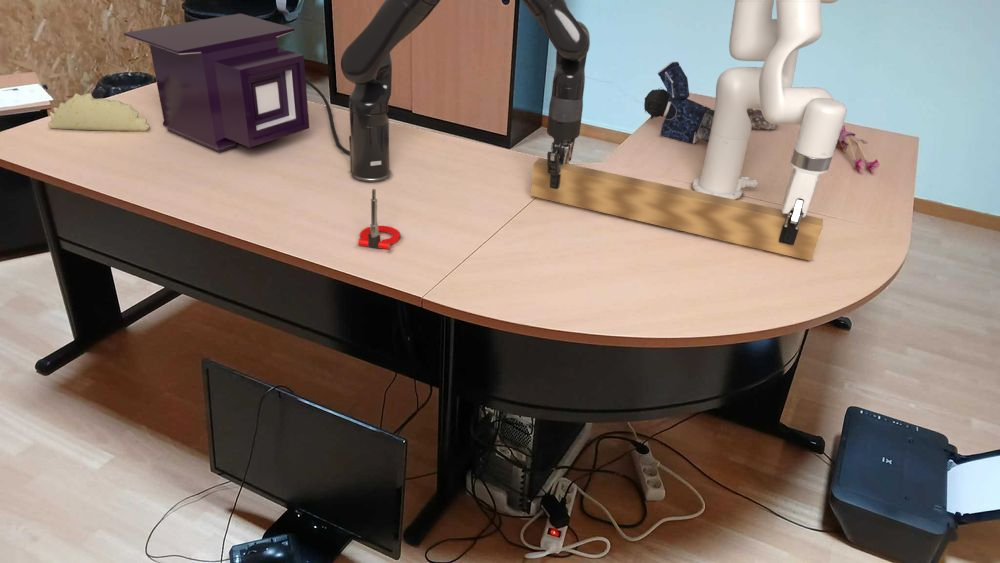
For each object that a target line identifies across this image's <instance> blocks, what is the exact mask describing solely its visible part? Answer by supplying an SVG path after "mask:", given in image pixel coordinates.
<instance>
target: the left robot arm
mask: <svg viewBox="0 0 1000 563" xmlns="http://www.w3.org/2000/svg"><path fill="white" fill-rule="evenodd" d="M440 2H441V0H384V1H383V2H382V3H381V5H380V7H379V8H378V10H377V11H376V13H374V16H373V18H372V19H371V20H370V22H369V23H368V24H367V26H366V27H364V28H363V30H362V31H361V32H360V33H359V34H358V35H357V36H356V38H354V40H352V42H350V43H349V44H348V45H347V46H346V48H345V49H344V50H343V53H342V54H341V58H340V69H341V72H342V74H343V76H344V78H345V79H346V80H347V81H349V82H350V83H352V84H353V85H354V87H353V90H352V92H351V94H350V95H349V97H348V98H349V99H348V109H349V127H350V135H349V137H348V142H349V150H348V149H346V148H345V147H343V145H342V144H341V143H340V140H339V137H338V135H337V132H336V128H335V123H334V118H333V113H332V110H331V106H330V104H329V101H328V100H327V98H326V97H325V95H324V94H323V93H322V92H321V90H319V88H318V87H316V86H315V85H314V84H313V83H312V82H311V81H310V80H307V79H306V85H308V86H309V87H311V88H312V89H313V90H314V91H315V92H316V93H317V94H318V95H319V96H320V98H321V99H322V100H323V103H324V104H325V106H326V109H327V112H328V118H329V122H330V129H331V132H332V135H333V139H334V142H335V145H336V146H337V148H338V149H339V150H340V151H342V152H343V153H344V154H345V155H348V156H349V162H350V172H351V176H352V177H353V178H354V179H355V180H357V181H360V182H365V183H376V182H382V181H385V180H387V179H389V178H390V176H391V170H390V121H389V103H390V98H391V95H392V82H393V81H392V77H393V76H392V75H393V74H392V73H393V62H392V55H391V52H392V50H393V49H394V48H395V47H396V46H397V45H398V44H399V43H400V42H402V41H403V40H404V39H405V38H406V37H408V35H410V34H411V33H413V31H415V29H417V28H418V27H419V26H420V25H421V24H422V23H423V22H424V21H425V20H426V19H427V18H428V17H429V16H430V15H431V13H432V12H433V11H434V10H435V8H436V7H437V6H438V4H439V3H440ZM522 2H523V3H524V5H525V6H526V7H527V9H528V10H529V11H530V13H531V14H532V16H534V18H535V19H536V21H537V22H539V24H540V26H541V27H542V28H543V31H544V32H545V34H546V36H547V37H548V39H549V41H550V42H551V44H552V46H553V47H554V49H555V50H556V52H555V53H556V54H555V69H554V72H553V79H552V85H551V86H552V87H551V96H550V101H549V107H548V115H547V117H548V118H547V127H546V133H547V135H548V136H549V137H551V138H552V139H553V142H551V144H550V151H547V153H546V156H547V158H546V159H547V167H548V173H551V178H550V187H551V188H554V189H558V188H559V186H560V177H561V170H562V165H564V164H565V163H567V164H570V162H571V161H572V158H573V157H572V156H573V152H574V146H575V141H576V139H577V138H578V137H580V135H581V134H580V133H581V126H582V118H583V109H584V91H585V82H586V72H585V71H586V64H587V56H588V52H589V51H590V48H591V47H590V46H591V36H590V32H589V29H588V27H587V26H586V25H585V24H584V23H583V22H582V21H579V20H577V19H576V17H574V14H572V12H571V11H570V9H569V7H568V5H567V2H566V0H522ZM554 167H555V168H556V169H555V168H554Z"/></svg>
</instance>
